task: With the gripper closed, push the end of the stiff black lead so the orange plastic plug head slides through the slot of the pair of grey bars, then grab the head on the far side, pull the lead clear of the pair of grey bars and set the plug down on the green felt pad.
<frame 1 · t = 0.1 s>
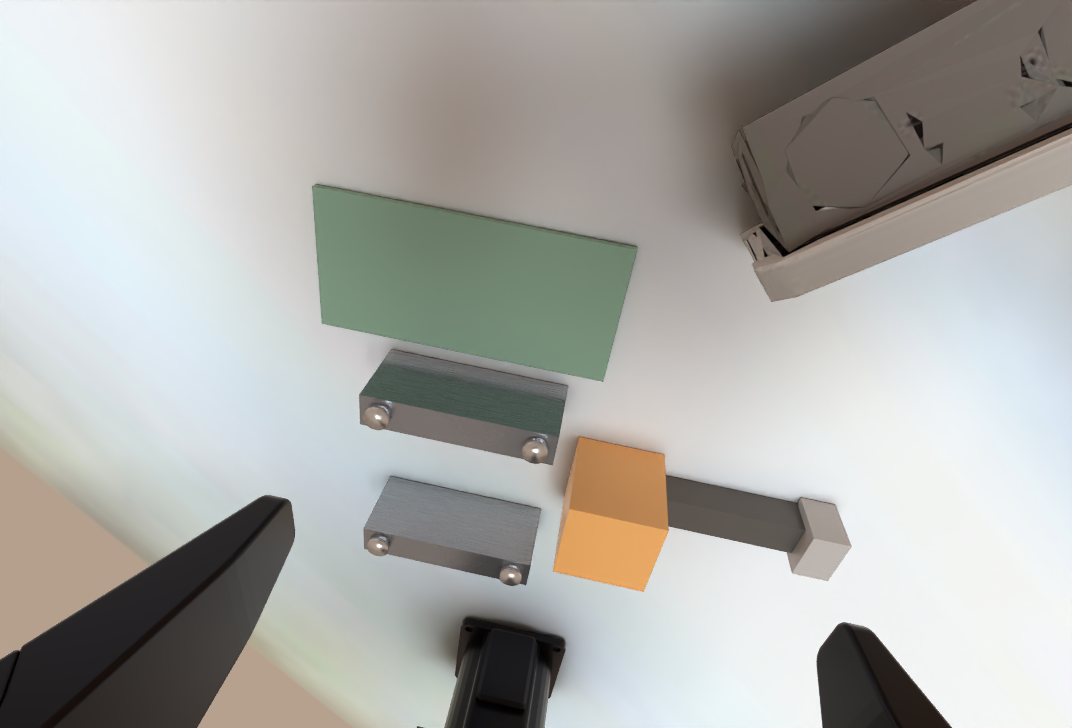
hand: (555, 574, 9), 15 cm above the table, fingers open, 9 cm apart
pair of grey bars: (470, 446, 28), on the table
pad: (468, 286, 23), on the table
plug: (612, 476, 28), on the table
electrical switch: (853, 116, 18), on the table
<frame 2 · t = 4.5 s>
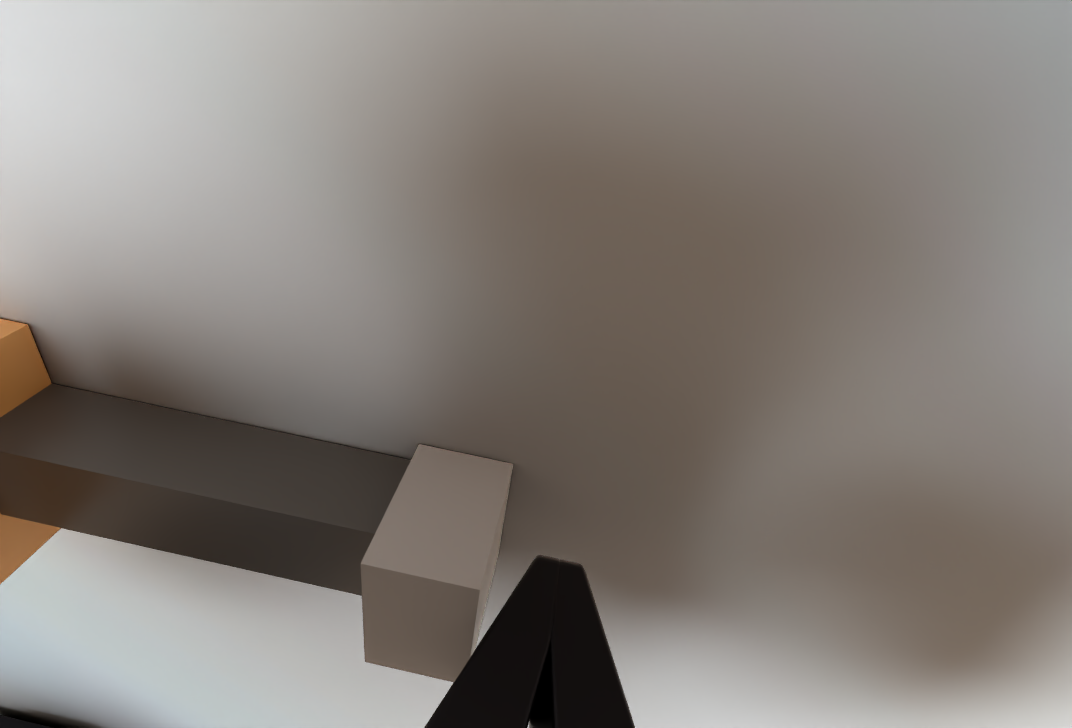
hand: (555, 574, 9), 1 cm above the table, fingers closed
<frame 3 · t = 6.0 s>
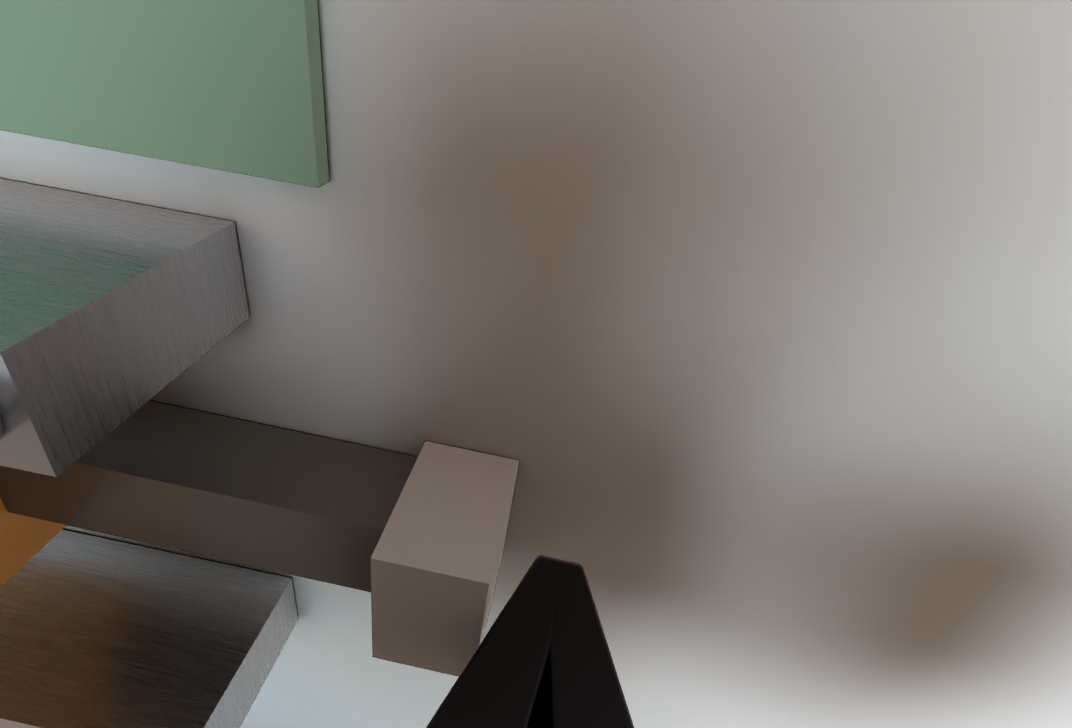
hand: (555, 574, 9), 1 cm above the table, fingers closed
pair of grey bars: (67, 427, 11), on the table
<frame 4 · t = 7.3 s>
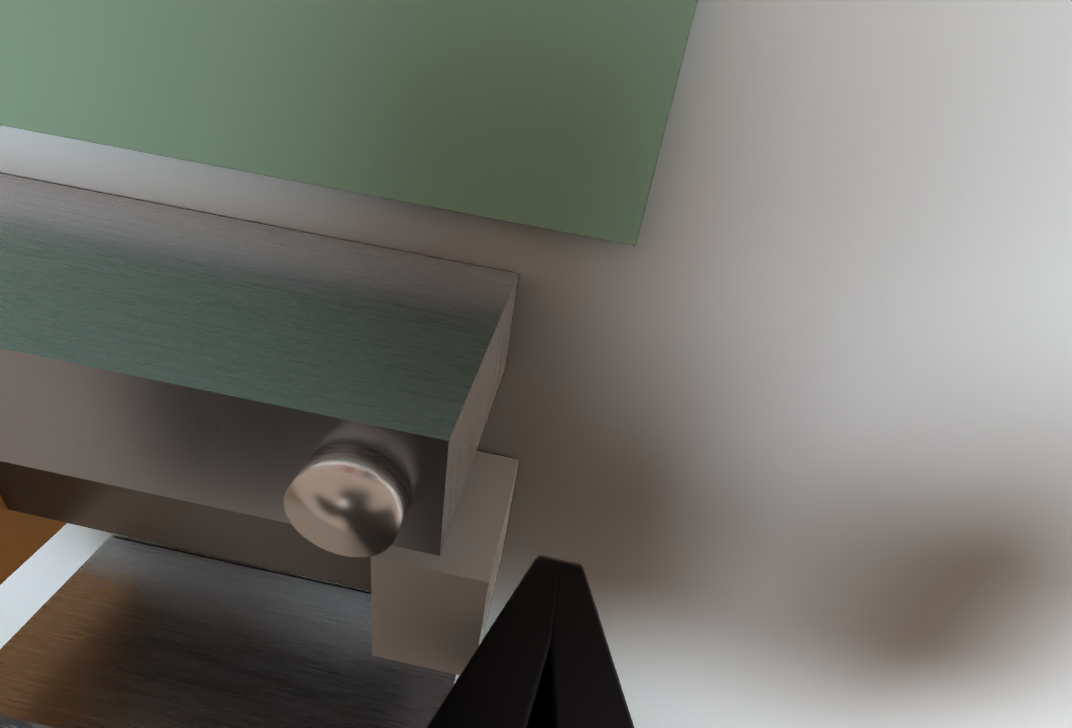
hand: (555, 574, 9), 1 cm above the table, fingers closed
pair of grey bars: (271, 466, 10), on the table
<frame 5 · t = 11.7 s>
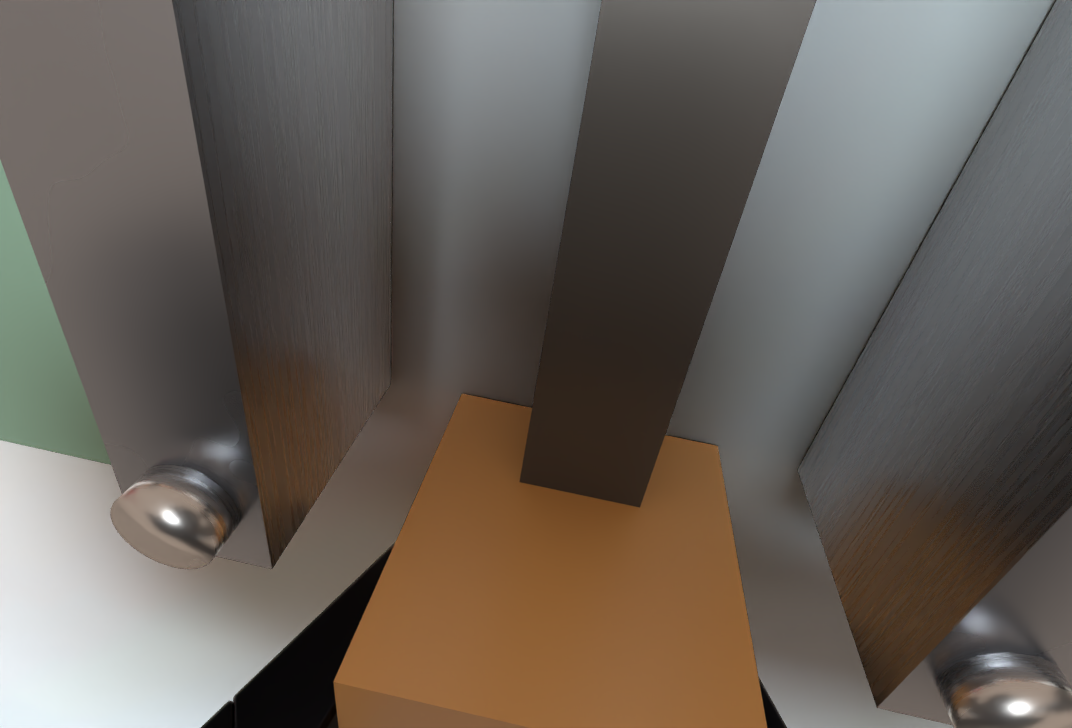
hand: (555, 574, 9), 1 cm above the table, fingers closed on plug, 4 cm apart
pair of grey bars: (658, 164, 7), on the table
plug: (566, 508, 10), on the table, touching gripper
when the fingers open (2 cm above the table, at t = 16.8 s): plug drops 1 cm, resting on pad.
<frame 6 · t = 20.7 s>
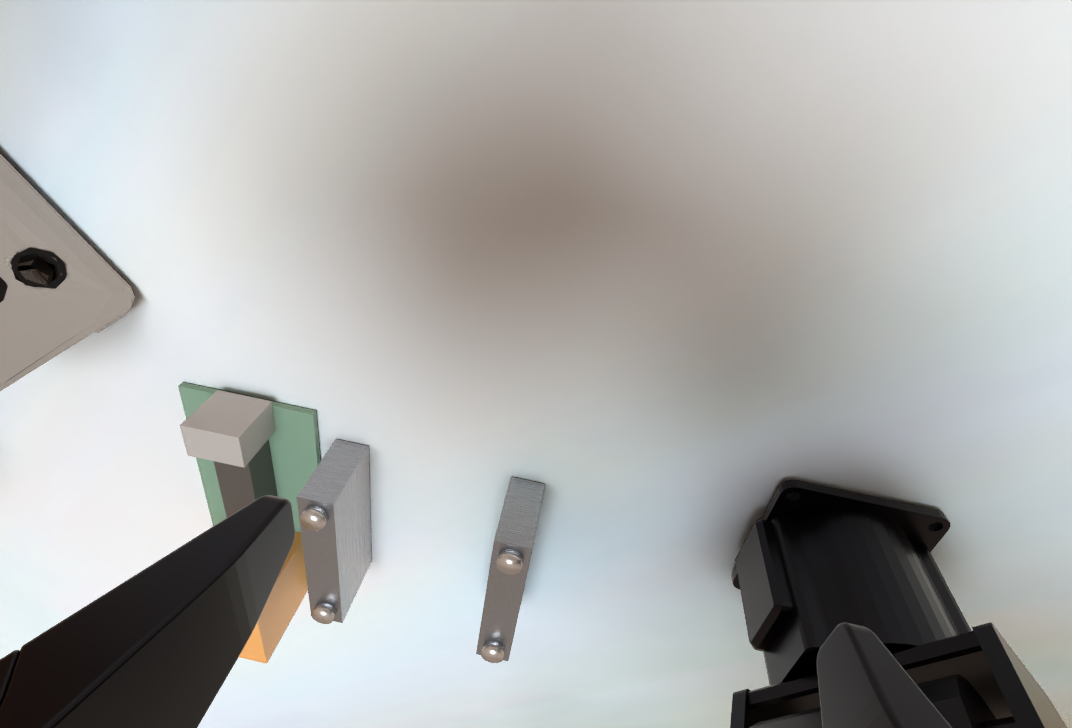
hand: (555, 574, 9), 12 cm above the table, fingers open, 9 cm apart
pair of grey bars: (435, 522, 27), on the table
pad: (266, 496, 28), on the table
plug: (272, 550, 30), resting on pad
electrical switch: (24, 233, 22), on the table
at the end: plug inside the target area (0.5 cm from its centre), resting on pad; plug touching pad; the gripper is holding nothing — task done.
